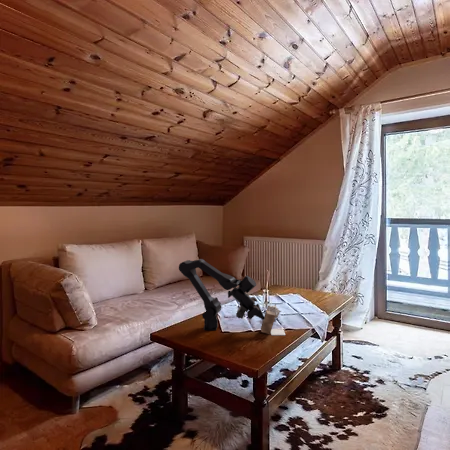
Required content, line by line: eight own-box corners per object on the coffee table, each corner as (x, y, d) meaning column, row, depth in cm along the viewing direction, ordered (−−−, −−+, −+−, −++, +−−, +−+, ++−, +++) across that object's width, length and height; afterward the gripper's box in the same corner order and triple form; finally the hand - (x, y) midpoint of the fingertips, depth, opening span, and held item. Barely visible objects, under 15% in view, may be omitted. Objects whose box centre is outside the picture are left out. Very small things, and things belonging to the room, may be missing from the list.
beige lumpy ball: (275, 326, 196) (280, 316, 190) (261, 320, 198) (265, 309, 191) (279, 314, 203) (284, 304, 197) (265, 308, 204) (270, 297, 198)
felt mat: (271, 335, 175) (271, 334, 175) (269, 329, 182) (269, 329, 182) (285, 335, 175) (285, 334, 175) (283, 329, 182) (283, 329, 182)
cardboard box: (261, 331, 176) (266, 313, 175) (260, 328, 181) (266, 310, 180) (269, 334, 176) (275, 315, 175) (269, 330, 181) (274, 312, 180)
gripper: (230, 302, 187) (251, 323, 188) (230, 315, 168) (253, 337, 169) (245, 288, 186) (266, 308, 187) (247, 298, 167) (270, 321, 168)
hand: (264, 318), depth 178 cm, fingers closed
